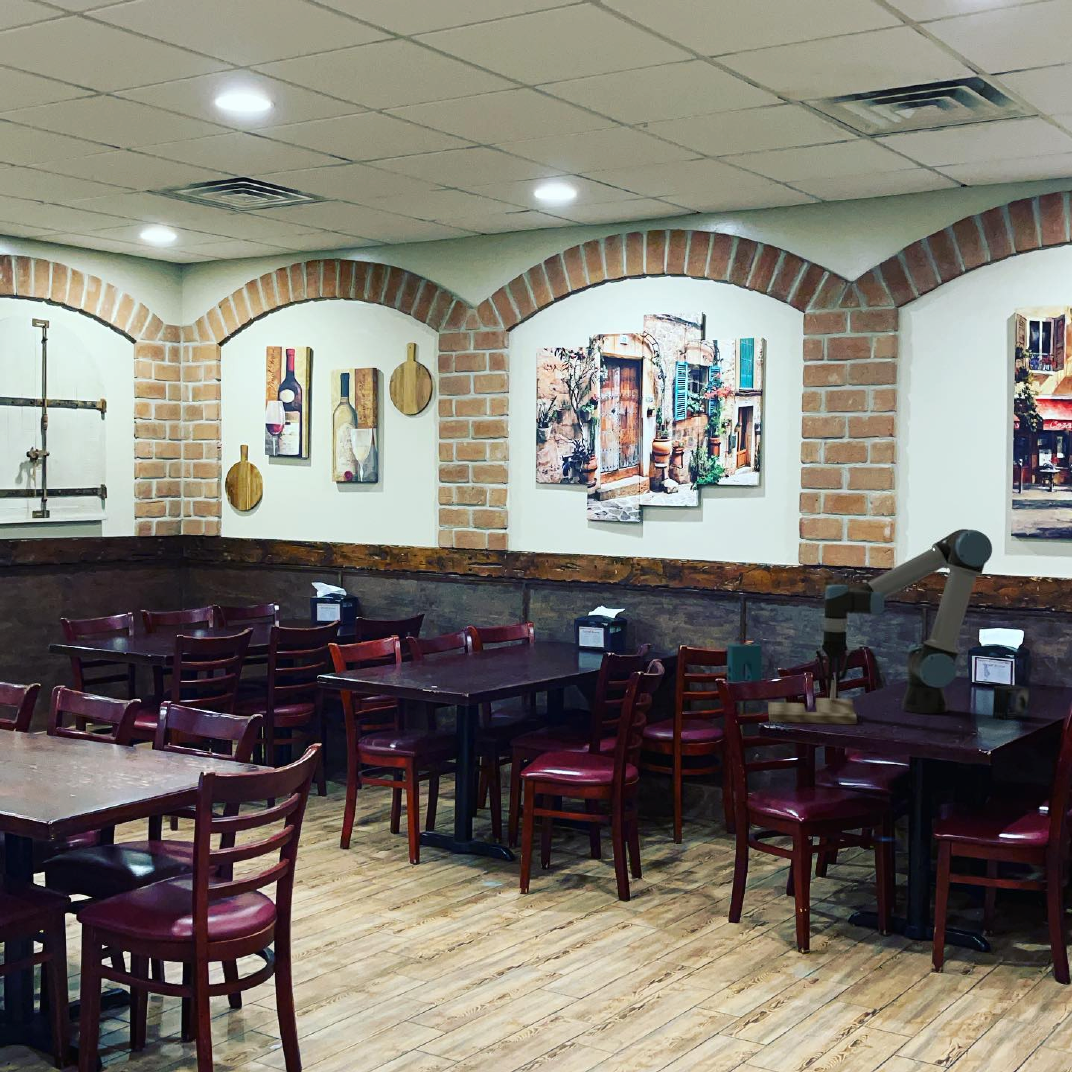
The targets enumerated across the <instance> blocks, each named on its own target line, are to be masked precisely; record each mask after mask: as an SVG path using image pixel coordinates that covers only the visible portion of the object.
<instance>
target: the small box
mask: <svg viewBox="0 0 1072 1072" xmlns="http://www.w3.org/2000/svg"><path fill="white" fill-rule="evenodd" d="M1029 696H1030V688H1029V687H1026V686H1022V685H1018V684H1012V685H1011V684H1010V685H997V686H996V685H995V686H994V687H993V705H992V717H993V718H997V719H1002V720H1014V719H1015V720H1016V719H1017V720H1018V719H1028V718H1029V702H1030V701H1029V700H1030V698H1029Z"/></svg>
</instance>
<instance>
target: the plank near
mask: <svg viewBox="0 0 1072 1072" xmlns="http://www.w3.org/2000/svg"><path fill="white" fill-rule="evenodd" d="M815 709H816V711H815V712H821V713H853V714H856V712H855V708H854V703H853V699H852V698H836V700H830V697H815Z"/></svg>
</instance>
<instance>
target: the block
mask: <svg viewBox="0 0 1072 1072" xmlns="http://www.w3.org/2000/svg"><path fill="white" fill-rule="evenodd" d="M726 647H727V649H726V651H727V657H726V664H727V665H726V669H727V670H726V682H727V681H730V682H740V681H761V682H762V659H763V658H762V655H763V654H762V653H763V646H762V644H757V643H751V644H750V643H748V644H746V643H744V644H727V646H726ZM744 668H745V669H744ZM757 700H758V699H757ZM757 700H747V701H748V702H757ZM741 702H742V703H743V702H744V703H745V702H746V700H745V701H738V702H737V703H741Z"/></svg>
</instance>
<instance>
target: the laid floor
mask: <svg viewBox="0 0 1072 1072" xmlns="http://www.w3.org/2000/svg"><path fill="white" fill-rule="evenodd" d="M768 719H769V720H768V721H769V722H774V723H775V722H777V723H802V724H803V723H804V724H805V723H806V724H807V723H808V724H810V723H811V724H838V725H839V724H842V725H857V721H858V720H857V719H858V718H857V714H856V713H855V714H853V713H821V712H817V711H806V712H789V711H769V713H768Z"/></svg>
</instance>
